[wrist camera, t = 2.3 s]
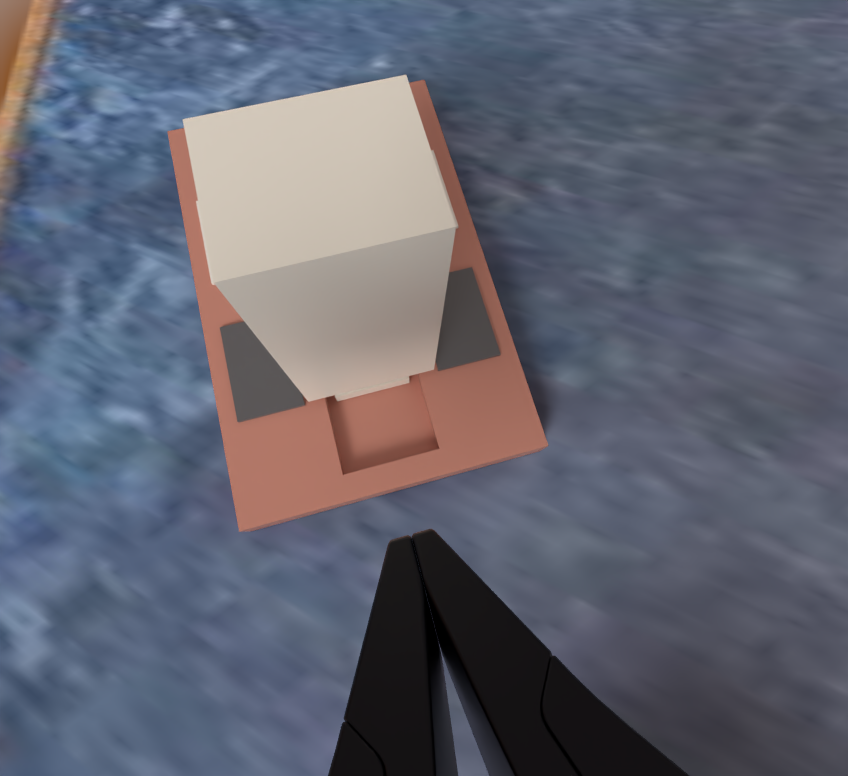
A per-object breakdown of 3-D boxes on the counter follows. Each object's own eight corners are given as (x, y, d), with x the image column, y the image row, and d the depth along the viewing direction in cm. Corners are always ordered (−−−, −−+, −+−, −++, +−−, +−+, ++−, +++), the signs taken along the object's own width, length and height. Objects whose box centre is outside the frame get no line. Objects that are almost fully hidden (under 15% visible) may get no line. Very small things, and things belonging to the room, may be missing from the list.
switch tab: (432, 376, 21) (456, 226, 11) (313, 407, 21) (213, 282, 10) (407, 290, 22) (406, 74, 12) (292, 318, 22) (182, 119, 11)
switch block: (539, 451, 22) (549, 445, 20) (251, 531, 20) (237, 531, 19) (423, 104, 26) (424, 76, 24) (181, 154, 25) (165, 128, 23)
